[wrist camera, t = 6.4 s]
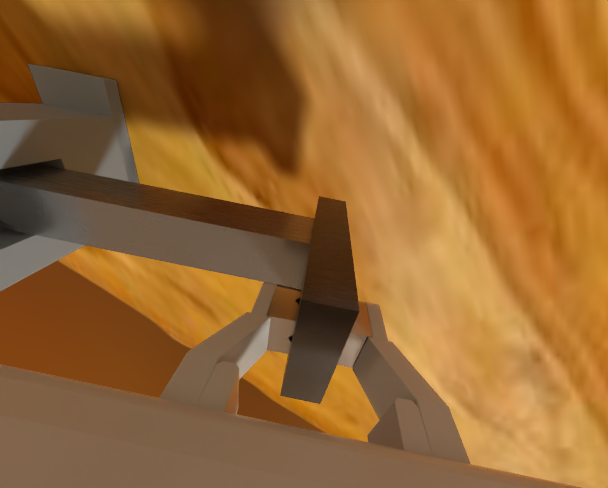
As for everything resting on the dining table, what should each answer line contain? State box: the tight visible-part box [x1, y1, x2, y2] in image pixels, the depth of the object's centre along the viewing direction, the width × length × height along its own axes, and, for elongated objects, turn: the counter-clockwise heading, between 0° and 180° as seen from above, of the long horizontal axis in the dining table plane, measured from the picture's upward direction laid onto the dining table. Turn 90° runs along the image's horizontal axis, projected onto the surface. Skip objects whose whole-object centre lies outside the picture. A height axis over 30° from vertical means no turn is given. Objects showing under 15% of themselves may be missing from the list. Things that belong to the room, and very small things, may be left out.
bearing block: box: [0, 64, 139, 291], centre depth 13 cm, size 12×5×12 cm, turn 171°
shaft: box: [0, 163, 359, 404], centre depth 11 cm, size 5×20×8 cm, turn 81°
